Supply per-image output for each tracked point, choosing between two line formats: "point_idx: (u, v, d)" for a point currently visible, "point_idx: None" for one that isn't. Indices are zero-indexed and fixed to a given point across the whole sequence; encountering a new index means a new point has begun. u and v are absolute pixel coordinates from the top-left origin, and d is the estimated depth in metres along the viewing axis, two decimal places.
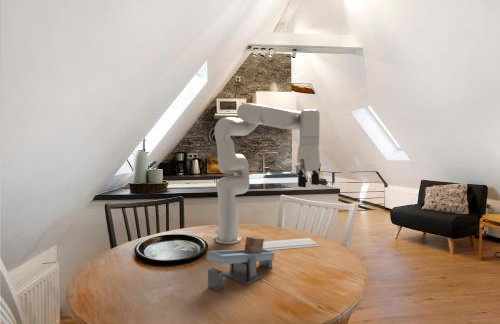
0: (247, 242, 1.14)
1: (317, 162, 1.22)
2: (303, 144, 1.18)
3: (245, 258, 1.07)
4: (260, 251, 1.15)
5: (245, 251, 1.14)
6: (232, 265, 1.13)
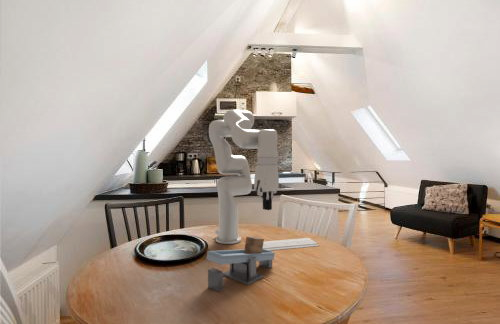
0: (247, 242, 1.14)
1: (276, 182, 1.20)
2: (260, 164, 1.17)
3: (245, 258, 1.07)
4: (260, 251, 1.15)
5: (245, 251, 1.14)
6: (232, 265, 1.13)
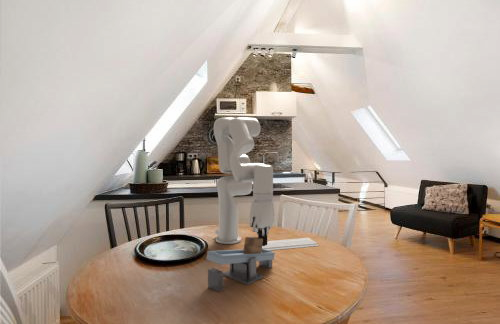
0: (246, 242, 1.14)
1: (271, 217, 1.19)
2: (256, 201, 1.15)
3: (245, 258, 1.07)
4: (259, 251, 1.14)
5: (244, 251, 1.14)
6: (232, 265, 1.13)
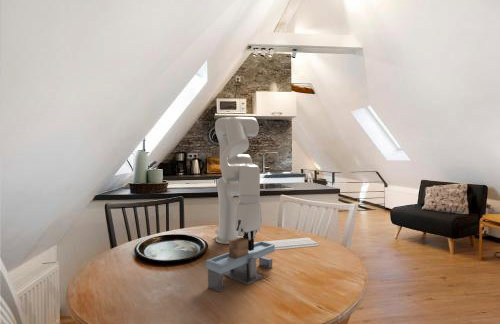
0: (231, 246, 1.08)
1: (258, 221, 1.13)
2: (241, 203, 1.10)
3: (245, 259, 1.07)
4: (246, 253, 1.09)
5: (230, 255, 1.08)
6: None
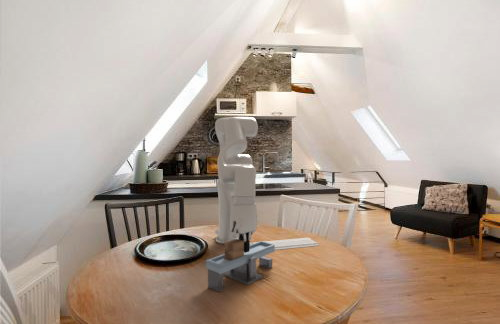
0: (226, 247, 1.06)
1: (254, 222, 1.11)
2: (236, 204, 1.08)
3: (245, 259, 1.07)
4: (241, 254, 1.07)
5: (225, 257, 1.06)
6: None
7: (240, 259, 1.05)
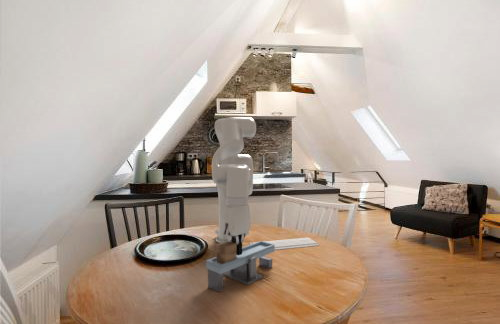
0: (218, 250, 1.03)
1: (247, 224, 1.08)
2: (229, 205, 1.05)
3: (245, 259, 1.07)
4: (234, 257, 1.04)
5: (217, 260, 1.04)
6: None
7: (240, 259, 1.05)
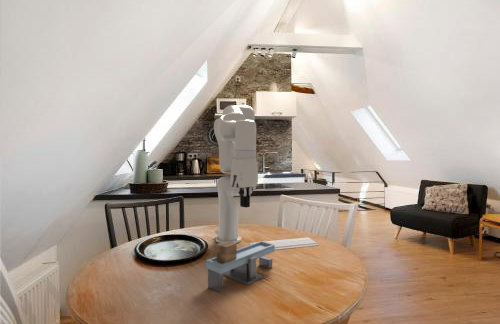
0: (218, 250, 1.03)
1: (254, 177, 1.11)
2: (237, 158, 1.07)
3: (245, 259, 1.07)
4: (234, 257, 1.04)
5: (217, 260, 1.04)
6: None
7: (240, 259, 1.05)
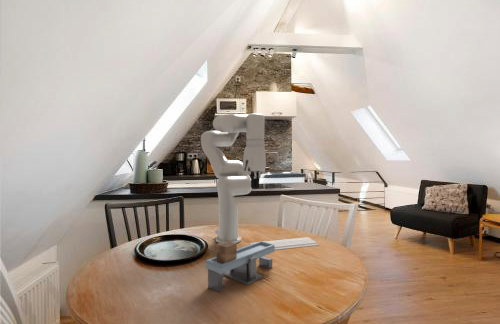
0: (218, 250, 1.03)
1: (263, 163, 1.30)
2: (248, 146, 1.26)
3: (245, 259, 1.07)
4: (234, 257, 1.04)
5: (217, 260, 1.04)
6: None
7: (240, 259, 1.05)
